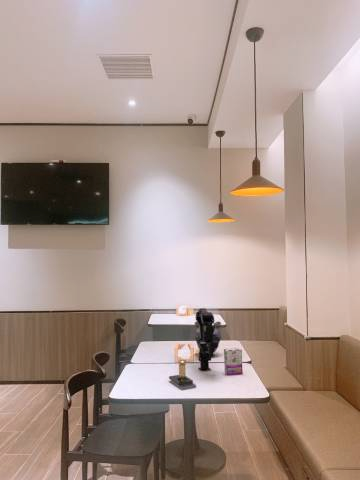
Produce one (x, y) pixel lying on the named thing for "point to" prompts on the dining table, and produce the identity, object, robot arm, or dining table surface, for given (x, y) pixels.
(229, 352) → the candy bar box
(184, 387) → the grey rectangular frame
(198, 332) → the decorative vase
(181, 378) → the brass pin
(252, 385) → the dining table surface
